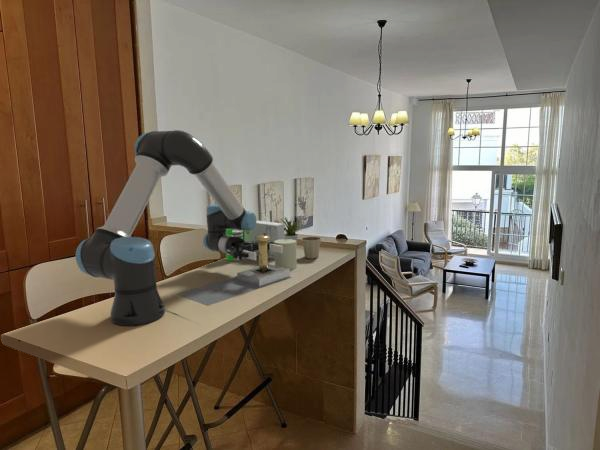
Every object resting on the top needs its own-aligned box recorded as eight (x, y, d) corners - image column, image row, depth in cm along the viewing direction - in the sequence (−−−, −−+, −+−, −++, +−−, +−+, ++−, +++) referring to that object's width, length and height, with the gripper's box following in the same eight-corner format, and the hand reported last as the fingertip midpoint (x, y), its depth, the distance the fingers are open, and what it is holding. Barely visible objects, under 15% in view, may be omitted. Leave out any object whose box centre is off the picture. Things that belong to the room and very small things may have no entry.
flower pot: (298, 255, 202) (298, 237, 200) (317, 253, 205) (317, 235, 203) (304, 260, 193) (304, 241, 192) (325, 258, 196) (324, 239, 194)
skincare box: (244, 254, 208) (242, 221, 205) (251, 251, 212) (250, 219, 209) (278, 260, 195) (277, 224, 192) (285, 257, 199) (284, 223, 197)
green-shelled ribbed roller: (238, 261, 194) (236, 221, 191) (222, 260, 196) (220, 220, 193) (247, 256, 202) (246, 218, 199) (232, 255, 205) (230, 217, 202)
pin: (263, 281, 162) (262, 238, 159) (254, 279, 165) (252, 237, 162) (273, 278, 165) (272, 236, 163) (264, 276, 169) (262, 234, 166)
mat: (207, 307, 138) (207, 305, 138) (176, 295, 150) (176, 293, 150) (292, 278, 166) (292, 277, 166) (260, 270, 178) (259, 269, 178)
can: (298, 265, 185) (297, 237, 183) (295, 271, 176) (295, 242, 174) (276, 265, 186) (275, 237, 184) (273, 271, 177) (272, 242, 175)
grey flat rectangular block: (259, 287, 155) (259, 278, 155) (237, 280, 163) (237, 272, 163) (290, 276, 167) (290, 268, 166) (268, 271, 175) (268, 263, 174)
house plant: (270, 249, 216) (269, 216, 214) (280, 243, 229) (279, 212, 227) (297, 250, 212) (296, 217, 209) (306, 244, 225) (305, 213, 222)
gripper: (255, 248, 185) (292, 256, 171) (207, 260, 167) (243, 270, 153) (255, 231, 184) (292, 237, 170) (206, 241, 165) (242, 249, 151)
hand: (269, 252), depth 161 cm, fingers open, 13 cm apart
